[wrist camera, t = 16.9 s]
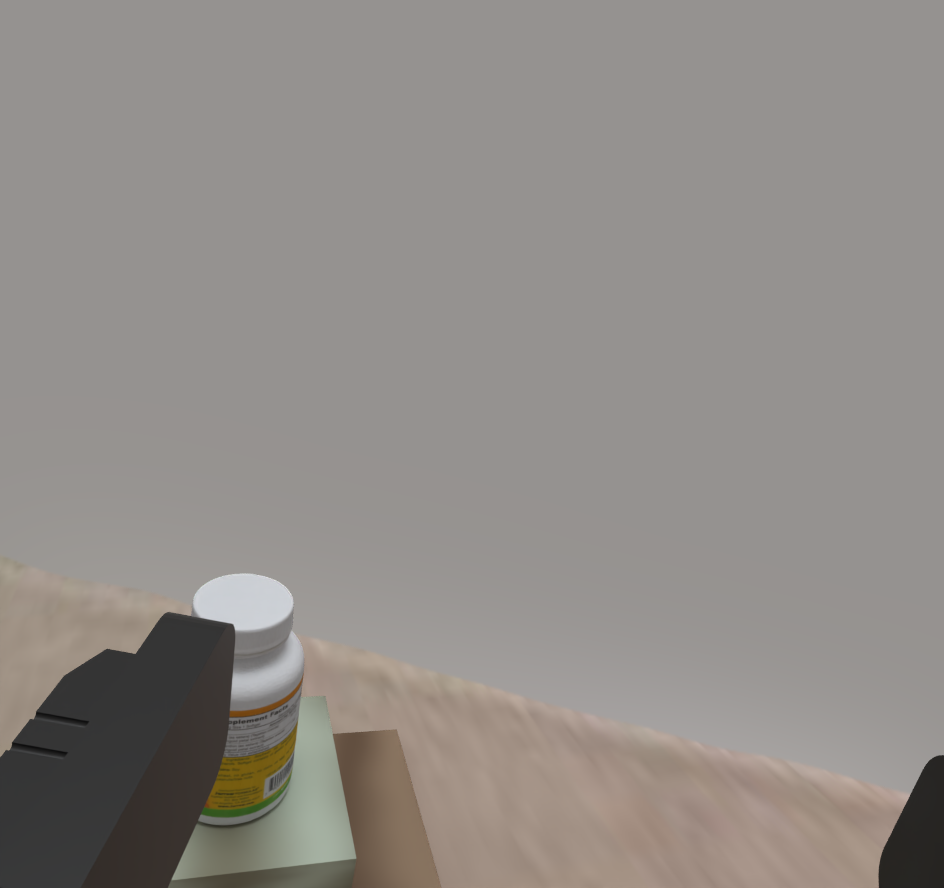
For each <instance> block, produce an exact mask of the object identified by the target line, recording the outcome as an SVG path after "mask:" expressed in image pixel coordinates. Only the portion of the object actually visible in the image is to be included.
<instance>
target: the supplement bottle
mask: <svg viewBox="0 0 944 888" xmlns="http://www.w3.org/2000/svg"><path fill="white" fill-rule="evenodd" d="M293 608H294V601H293V597H292V595H291V593H290V592H289V590H288V589H287V588H286V587H285V586H284V585H282V584H281V583H279V582H278V581H276V580H273V579H271V578H268V577H265V576H260V575H255V574H231V575H226V576H221V577H218V578H216V579H213V580H211V581H209V582H207V583H206V584H204V585H203V586H202V587H201V588H199V590H198V591H197V592H196V594H195V596H194V598H193V603H192V613H191V616H193V617H198V618H204V619H209V620H215V621H220V622H226V623H231V624H233V625H234V627H235V651H234V664H233V677H232V690H231V703H230V716H229V728H228V736H227V742H226V747H225V751H224V755H223V759H222V763H221V766H220V770H219V773H218V776H217V778H216V781H215V784H214V786H213V789H212V791H211V793H210V795H209V798H208V800H207V802H206V804H205V806H204V809H203V811H202V813H201V815H200V818H199V820H198V821H200V822H203V823H207V824H212V825H234V824H240V823H244V822H248V821H251V820H253V819H256V818H258V817H260V816H262V815H264V814H265V813H267V812H268V811H270V810H271V809H272V808H274V807H275V806H276V805H277V804H278V803H279V802H280V801H281V799H282V798H283V797H284V795H285V793H286V791H287V789H288V787H289V784H290V781H291V775H292V770H293V762H294V753H295V744H296V735H297V726H298V717H299V708H300V700H301V691H302V682H303V674H304V653H303V648H302V645H301V643H300V641H299V639H298V638H297V636H296V635H295V634H294V633H293V632H292V625H293Z"/></svg>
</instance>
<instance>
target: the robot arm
mask: <svg viewBox="0 0 944 888" xmlns="http://www.w3.org/2000/svg"><path fill="white" fill-rule="evenodd" d="M234 651H235V627H234V625H233V624H231V623H226V622H220V621H215V620H209V619H204V618H198V617H193V616H187V615H182V614H176V613H171V612H167V613H165V614H164V615H163V616H162V617H161V618H160V620H159V621H158V622H157V624H156V625H155V627H154V628H153V630H152V631H151V632H150V634H149V635H148V637H147V638H146V640H145V641H144V643H143V644H142V646H141V647H140V648H139V650H138V651H137V653H136V654H132V653H127V652H121V651H116V650H110V649H106V650H104V651H103V652H101V653H100V654H98V655H96V656H95V657H93V658H92V659H90V660H88V661H87V662H85V663H84V664H82V665H81V666H79V667H77V668H76V669H74V670H73V671H71V672H69V673H68V674H66V675H65V676H64V677H63V678H62V679H61V681H60V682H59V683H58V685H57V686H56V687H55V688H54V690H53V691H52V692H51V693H50V695H49V696H48V697H47V699H46V700H45V701H44V702H43V704H42V705H41V706H40V708H39V709H38V710H37V711H36V716H35V718H34V720H33V719H30V720H29V722H28V723H27V724H26V725H25V727H24V728H23V729H22V731H21V732H20V733H19V734H18V736H17V737H16V738H15V739H14V741H13V742H12V747H11V749H10V750H9V751H8V750H6V751H5V752H4V754H3V755H2V756H1V757H0V888H168V886H169V884H170V882H171V880H172V878H173V875H174V873H175V871H176V869H177V866H178V864H179V862H180V860H181V858H182V855H183V853H184V851H185V849H186V846H187V844H188V842H189V840H190V838H191V835H192V833H193V831H194V829H195V826H196V824H197V822H198V820H199V818H200V815H201V813H202V811H203V809H204V806H205V804H206V802H207V800H208V798H209V795H210V793H211V791H212V789H213V786H214V784H215V781H216V778H217V776H218V773H219V770H220V766H221V763H222V759H223V755H224V751H225V747H226V742H227V736H228V728H229V716H230V703H231V690H232V677H233V664H234ZM879 888H944V755H942V756H936V757H934V758H932V759H931V760H930V761H929V762H928V763H927V764H926V766H925V767H924V769H923V771H922V773H921V775H920V777H919V779H918V781H917V783H916V785H915V787H914V789H913V791H912V793H911V795H910V797H909V799H908V801H907V803H906V805H905V807H904V809H903V811H902V813H901V815H900V817H899V819H898V821H897V823H896V825H895V827H894V829H893V831H892V833H891V835H890V837H889V839H888V841H887V843H886V845H885V847H884V850H883V852H882V855H881V859H880V865H879Z"/></svg>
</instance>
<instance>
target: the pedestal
mask: <svg viewBox="0 0 944 888" xmlns="http://www.w3.org/2000/svg"><path fill="white" fill-rule="evenodd" d="M168 888H441V885H440V881H439V878H438V874H437V871H436V867H435V864H434V860H433V857H432V853H431V849H430V846H429V842H428V839H427V835H426V832H425V828H424V825H423V821H422V818H421V814H420V810H419V807H418V803H417V800H416V796H415V793H414V789H413V786H412V782H411V779H410V775H409V772H408V768H407V764H406V761H405V757H404V754H403V750H402V747H401V743H400V740H399V736H398V733H397V730H383V731H369V732H355V733H341V734H332V728H331V723H330V718H329V713H328V708H327V702H326V697H325V696H315V697H301V700H300V708H299V717H298V726H297V735H296V744H295V753H294V762H293V770H292V775H291V781H290V784H289V787H288V789H287V791H286V793H285V795H284V797H283V798H282V799H281V801H280V802H279V803H278V804H277V805H276V806H275V807H274V808H272V809H271V810H270V811H268V812H267V813H265V814H264V815H262V816H260V817H258V818H256V819H253V820H251V821H248V822H244V823H240V824H234V825H212V824H207V823H203V822H200V821H198V822H197V824H196V826H195V829H194V831H193V833H192V835H191V838H190V840H189V842H188V844H187V846H186V849H185V851H184V853H183V855H182V858H181V860H180V862H179V864H178V866H177V869H176V871H175V873H174V875H173V878H172V880H171V882H170V884H169V886H168Z"/></svg>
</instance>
